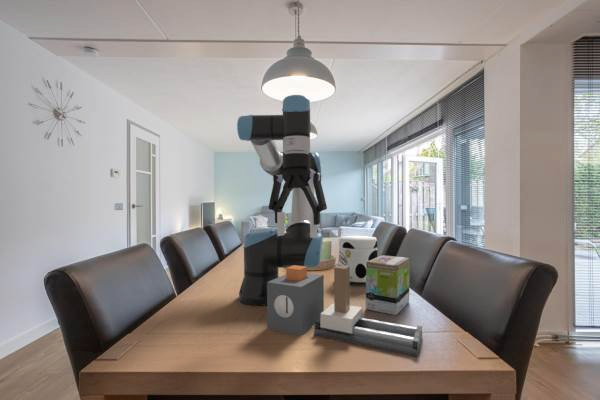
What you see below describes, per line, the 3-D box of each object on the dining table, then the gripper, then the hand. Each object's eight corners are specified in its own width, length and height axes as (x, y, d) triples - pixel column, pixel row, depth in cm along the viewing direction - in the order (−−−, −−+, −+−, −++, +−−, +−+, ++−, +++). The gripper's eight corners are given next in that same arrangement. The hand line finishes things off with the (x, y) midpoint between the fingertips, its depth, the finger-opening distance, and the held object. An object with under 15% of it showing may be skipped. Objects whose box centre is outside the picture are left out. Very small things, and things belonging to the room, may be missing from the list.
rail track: (314, 334, 76) (314, 322, 76) (329, 320, 85) (329, 309, 85) (417, 356, 65) (417, 342, 65) (422, 338, 74) (422, 325, 74)
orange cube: (286, 282, 83) (286, 268, 84) (293, 279, 87) (293, 265, 87) (300, 284, 82) (299, 269, 82) (306, 281, 85) (306, 266, 85)
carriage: (320, 327, 76) (320, 269, 76) (333, 314, 84) (333, 262, 84) (351, 333, 72) (351, 272, 73) (362, 319, 81) (362, 265, 81)
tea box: (398, 316, 89) (398, 264, 89) (364, 309, 94) (364, 261, 94) (410, 301, 101) (410, 256, 101) (380, 296, 107) (379, 253, 107)
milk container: (328, 281, 127) (327, 237, 127) (354, 274, 139) (353, 234, 139) (362, 290, 115) (362, 241, 115) (388, 281, 126) (388, 237, 126)
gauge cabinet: (266, 328, 80) (266, 282, 80) (293, 311, 93) (292, 271, 93) (300, 336, 76) (300, 287, 76) (323, 316, 88) (323, 274, 88)
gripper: (255, 155, 86) (255, 235, 86) (329, 148, 76) (329, 239, 76) (269, 158, 93) (270, 233, 93) (339, 153, 83) (339, 236, 83)
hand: (296, 236), depth 84 cm, fingers open, 9 cm apart
